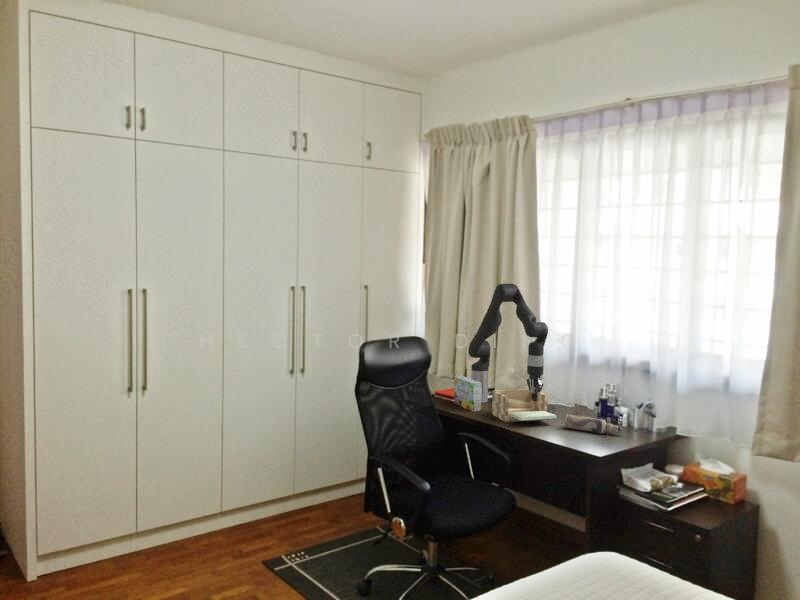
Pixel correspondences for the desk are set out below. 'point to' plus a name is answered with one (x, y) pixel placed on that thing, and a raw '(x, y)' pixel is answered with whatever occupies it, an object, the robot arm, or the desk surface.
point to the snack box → (467, 393)
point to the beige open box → (516, 403)
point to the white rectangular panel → (532, 415)
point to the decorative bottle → (589, 424)
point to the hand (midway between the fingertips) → (534, 400)
